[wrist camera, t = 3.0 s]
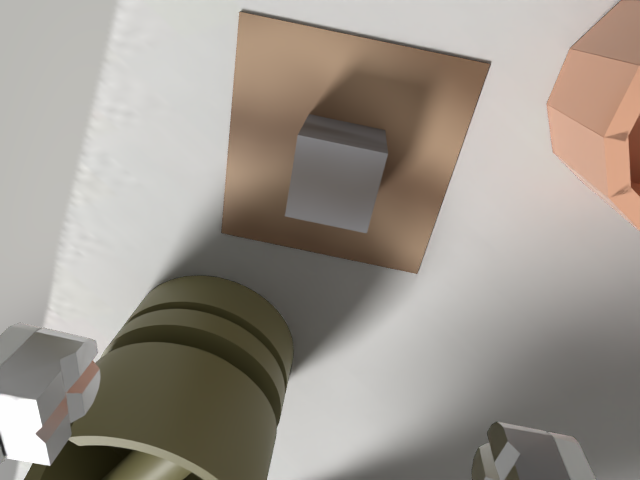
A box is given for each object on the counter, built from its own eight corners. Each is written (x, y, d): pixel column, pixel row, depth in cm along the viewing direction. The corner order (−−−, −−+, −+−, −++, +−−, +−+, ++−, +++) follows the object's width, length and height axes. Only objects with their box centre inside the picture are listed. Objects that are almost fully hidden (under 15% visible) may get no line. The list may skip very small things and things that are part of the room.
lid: (415, 266, 27) (424, 315, 23) (225, 227, 27) (198, 268, 23) (485, 62, 21) (514, 77, 17) (243, 11, 21) (212, 14, 17)
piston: (-21, 508, 22) (77, 394, 17) (107, 342, 32) (189, 243, 27) (173, 603, 24) (303, 528, 20) (233, 421, 35) (326, 344, 30)
